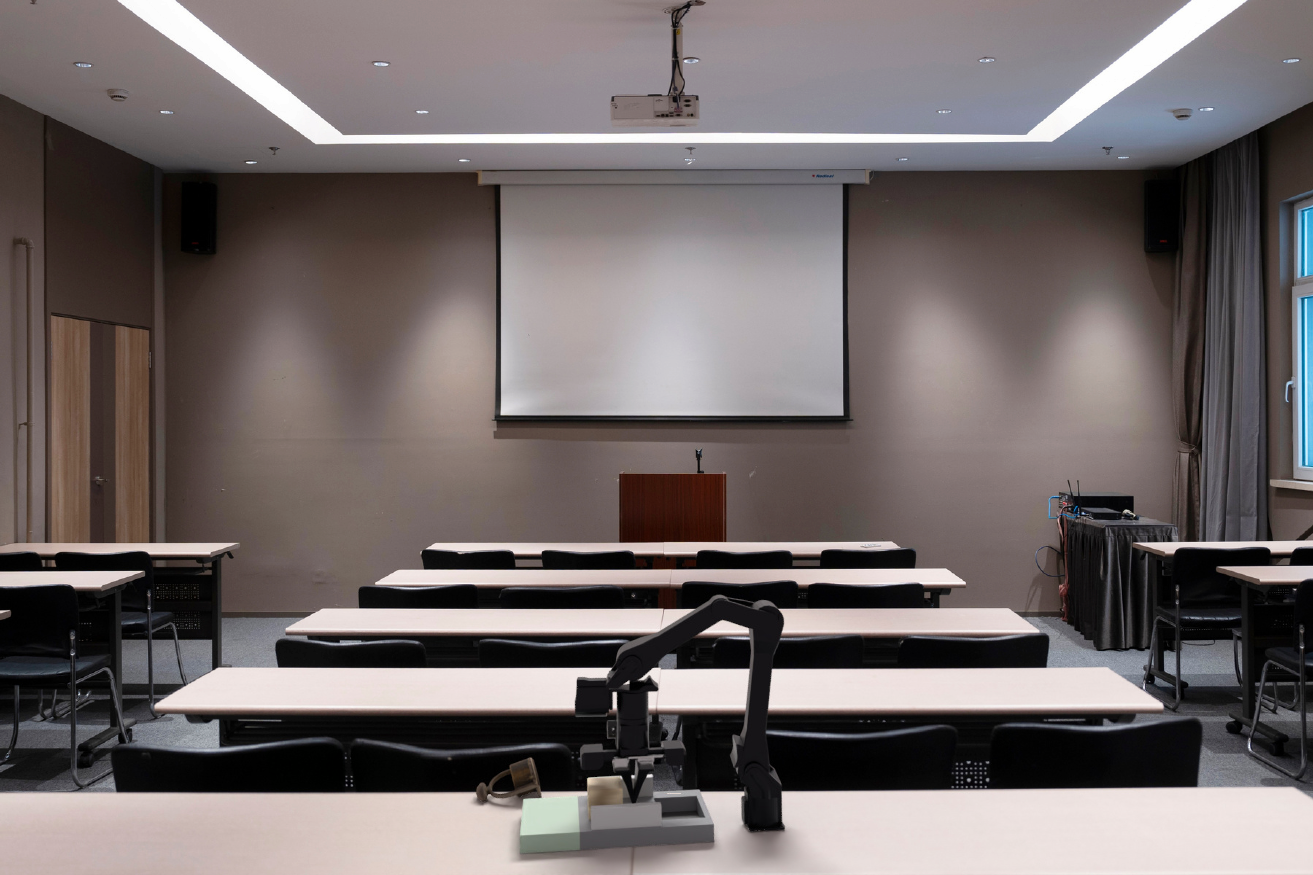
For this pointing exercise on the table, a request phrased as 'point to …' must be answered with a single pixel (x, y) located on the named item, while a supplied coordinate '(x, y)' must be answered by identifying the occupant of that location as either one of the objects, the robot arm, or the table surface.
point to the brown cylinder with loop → (514, 781)
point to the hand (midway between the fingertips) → (633, 802)
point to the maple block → (604, 792)
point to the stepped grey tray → (615, 821)
